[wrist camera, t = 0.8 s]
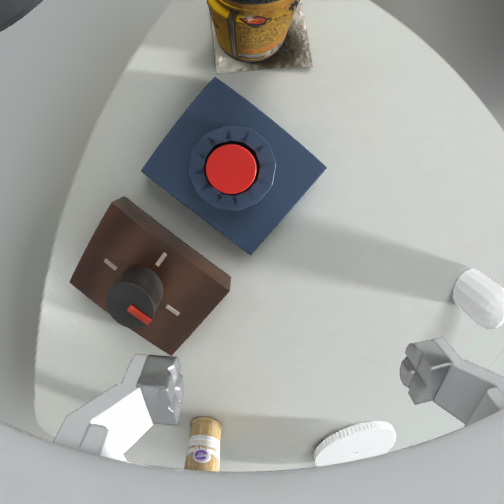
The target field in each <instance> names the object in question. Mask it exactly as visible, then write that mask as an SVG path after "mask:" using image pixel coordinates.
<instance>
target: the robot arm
mask: <svg viewBox="0 0 504 504" xmlns="http://www.w3.org/2000/svg"><path fill="white" fill-rule="evenodd" d="M405 353H406V355H407V357H406V358H405V359H404V360H403V361H402V363H401V366H400V378H401V381H402V383H403V385H405V386H406V387H408V388H409V392H408V393H409V395H410V397H411V399H412V400H413V402H414V404H415V405H416V404H420V403H425V402H429V401H432V400H433V402H435V403H436V404H437V405H439V406H440V407H442V408H443V409H444V410H446V411H447V412H449V413H450V414H451V415H453V416H454V417H456V418H457V419H458V420H460V421H461V422H463V423H464V424H465V426H464V427H463V428H461V429H458V430H456V431H453V432H451V433H448V434H445V435H443V436H440V437H437V438H435V439H432V440H429V441H426V442H423V443H420V444H417V445H414V446H410V447H407V448H404V449H400V450H397V451H393V452H389V453H385V454H381V455H377V456H373V457H369V458H364V459H359V460H354V461H349V462H344V463H338V464H332V465H325V466H318V467H310V468H301V469H290V470H277V471H256V472H221V471H199V470H186V469H176V468H167V467H159V466H152V465H145V464H139V463H133V462H128V461H127V460H126V459H125V457H124V455H123V454H124V453H125V452H126V451H127V450H128V449H129V448H130V447H131V446H132V445H133V444H134V443H135V442H136V441H137V440H138V439H139V438H140V437H141V436H142V435H143V434H144V433H145V432H146V431H147V430H148V429H149V428H151V427H152V426H153V423H154V424H166V425H178V420H179V415H180V407H179V403H181V402H182V400H183V395H184V383H183V376H182V375H181V374H180V373H179V370H180V362H179V358H178V357H170V356H158V355H144V354H135V355H134V356H133V357H132V360H131V362H130V364H129V366H128V368H127V371H126V373H125V375H124V377H123V380H122V382H121V384H120V385H117V384H116V385H115V386H113V387H111V388H110V389H108V390H107V391H105V392H104V393H102V394H100V395H99V396H97V397H96V398H94V399H93V400H91V401H89V402H88V403H86V404H84V405H83V406H81V407H80V408H78V409H76V410H75V411H73V412H72V413H70V414H68V415H67V416H66V417H65V419H64V421H63V423H62V425H61V427H60V429H59V431H58V433H57V435H56V437H55V439H54V441H53V442H52V441H49V440H46V439H43V438H41V437H38V436H35V435H33V434H30V433H28V432H25V431H22V430H20V429H18V428H16V427H13V426H11V425H8V424H6V423H4V422H2V421H0V504H504V377H503V376H501V375H499V374H496V373H494V372H492V371H490V370H487V369H485V368H483V367H481V366H478V365H476V364H474V363H472V362H469V361H467V360H464V361H463V360H462V359H461V357H460V356H459V355H458V354H457V353H456V351H455V350H454V349H453V348H452V347H451V346H450V344H449V343H448V342H447V341H446V340H445V339H444V338H442V337H440V338H435V339H431V340H427V341H421V342H416V343H410V344H409V345H408V346H407V348H406V351H405Z"/></svg>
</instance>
